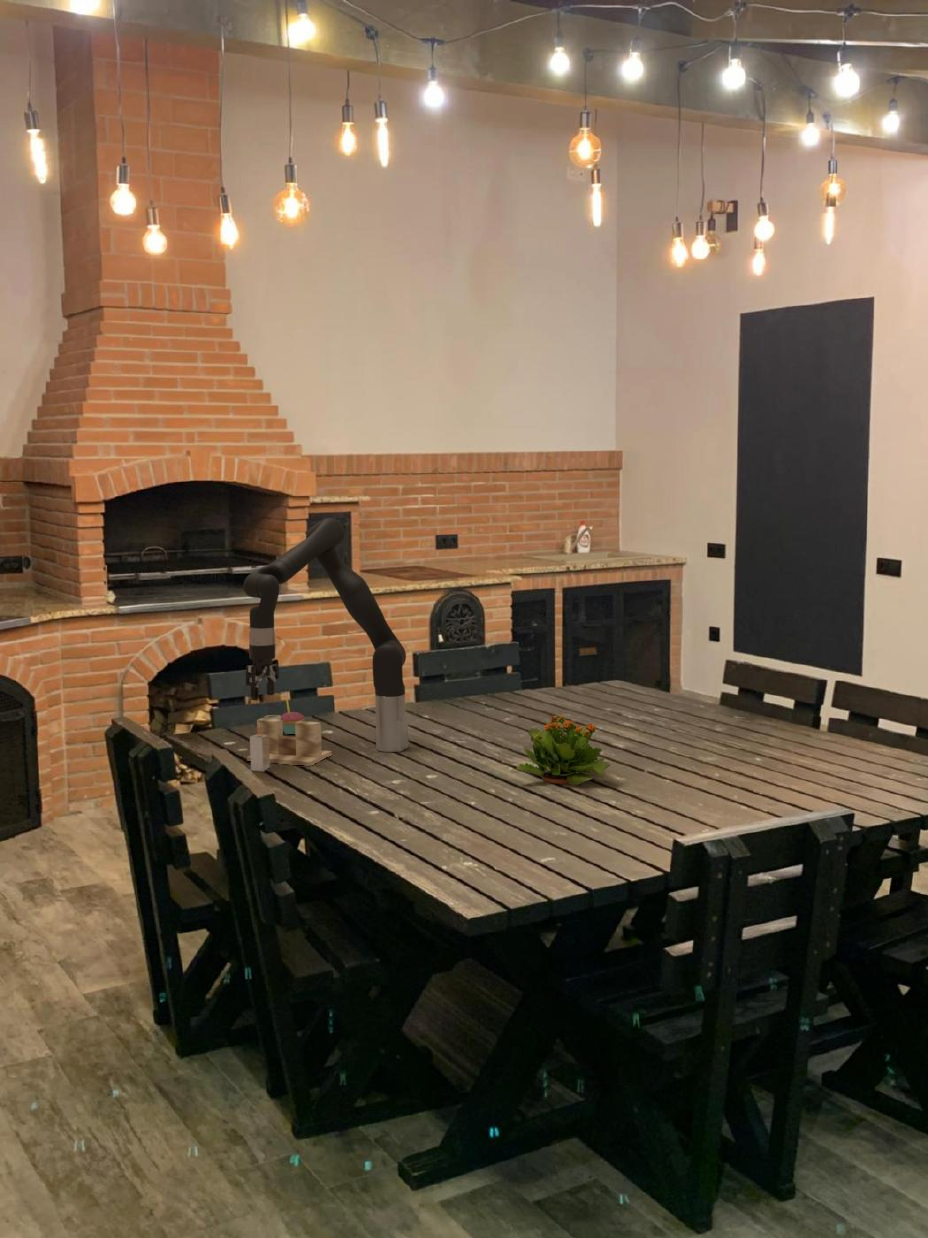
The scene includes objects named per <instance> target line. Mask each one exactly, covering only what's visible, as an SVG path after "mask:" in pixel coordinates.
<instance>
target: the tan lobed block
mask: <svg viewBox="0 0 928 1238" xmlns="http://www.w3.org/2000/svg"><path fill="white" fill-rule="evenodd" d="M281 716H282V715H279V714H270V715H269V714H268V715H265V716H264V717H261V718H259V719H257V720H256V727H257V726H258V725H261V734H264V735H269V753H270V763H279V764H278V765H282V764H289V765H288V766H293V765H313V766H315V765H316V764H315V763H317V762H319V761H320V760H322V759H324V758H326V757H329V756H331V755H332V754H333V753H332V752H333V751H332V750H324V749H323V750H322V723H321V721H320V722H318V721H308V720H307V721H306V720H305V721H299V722H296V723H295V733H296V734H295V736H292V735H284V733H283V732H284V730H283V724H282V720H281ZM331 757H332V756H331ZM246 758H247V759H246V760H247V761H251V756H250V755H248V756H247V757H246ZM329 758H330V757H329ZM247 761H246V762H247ZM319 763H320V762H319ZM314 764H315V765H314ZM317 764H318V763H317Z"/></svg>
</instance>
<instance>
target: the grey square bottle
mask: <svg viewBox="0 0 928 1238" xmlns="http://www.w3.org/2000/svg"><path fill="white" fill-rule="evenodd" d="M256 732H257V733H256V734H253V735H251V736H249V747H250V749H249V750H250V751H249V752H250V755H249V756H251V762H250V771H251V770H252V771H253V772H254V771H255V772H262V773H263V772H266V771H267V770H266V769H267V768H269V767H270V768H271V764H270V753H269V735H264V734H261V725H258V726H257V725H256ZM265 770H266V771H265Z"/></svg>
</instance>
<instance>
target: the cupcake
mask: <svg viewBox="0 0 928 1238" xmlns="http://www.w3.org/2000/svg"><path fill="white" fill-rule="evenodd" d="M287 697H288V696H286V697H285V701H286V708H287V712H285V713H283V714H281V715H280V716H281V720H282V724H283V732H284V733H283V734H284V735H287V734H295V735H296V733H295V723H296V722H299V721H306V718H305V715H303V714H302V713H300V712H296V711H290V706H289V705H290V704H289V699H288V698H287Z"/></svg>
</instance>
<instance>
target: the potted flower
mask: <svg viewBox="0 0 928 1238" xmlns="http://www.w3.org/2000/svg"><path fill="white" fill-rule="evenodd" d="M561 725H562V726H561ZM594 733H596V724H593V725H592V723H589V724H588V723H587V724H585V727H584V728H583V727H582V726H581V725H576V724H575V723H574V722H573V721H572V720H567V721H566V718H565V716H564V715H559V717H558V715H553V716H551V718H550V721H549V722H547V724H546V725H544V727H543V730H540V729H539V728H537V727H536V728H533V727H531V728H529V730H528V732H527V735H529V736H530V741H531V743H532V749H533V751H532V750H530V749H529V748H526V747H525V748H523V751H524V753H525V754H526V756H527V757H528V759H529V760H531V762H533V764H535V766H534V765H532V764H531V763H527V762H525V763H524V764H523V763H520V764H518V766H516V770H519V771H523V772H525V773H529V774H534V775H538V776H541V778H542V781H544V782H545V783H549V784H554V785H567V784H569V785H570V786H573V787H574V786H579V785H581V784H582V783H584V782H587V781H591V780H592V779H593V776H591V775H590V774H593V773H595V774H598V775H599V776H602V774H603V772H604V771H605V770H606V769H608V768H609V767H610V766H612V764H610V761H605V758H604V757H602V758H599V756H601V753H602V748H600V747H599V748H598V747H594V748H593V746H591V744H590V743H589V742H590V739H592V736H593V734H594ZM536 765H537V766H536Z"/></svg>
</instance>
